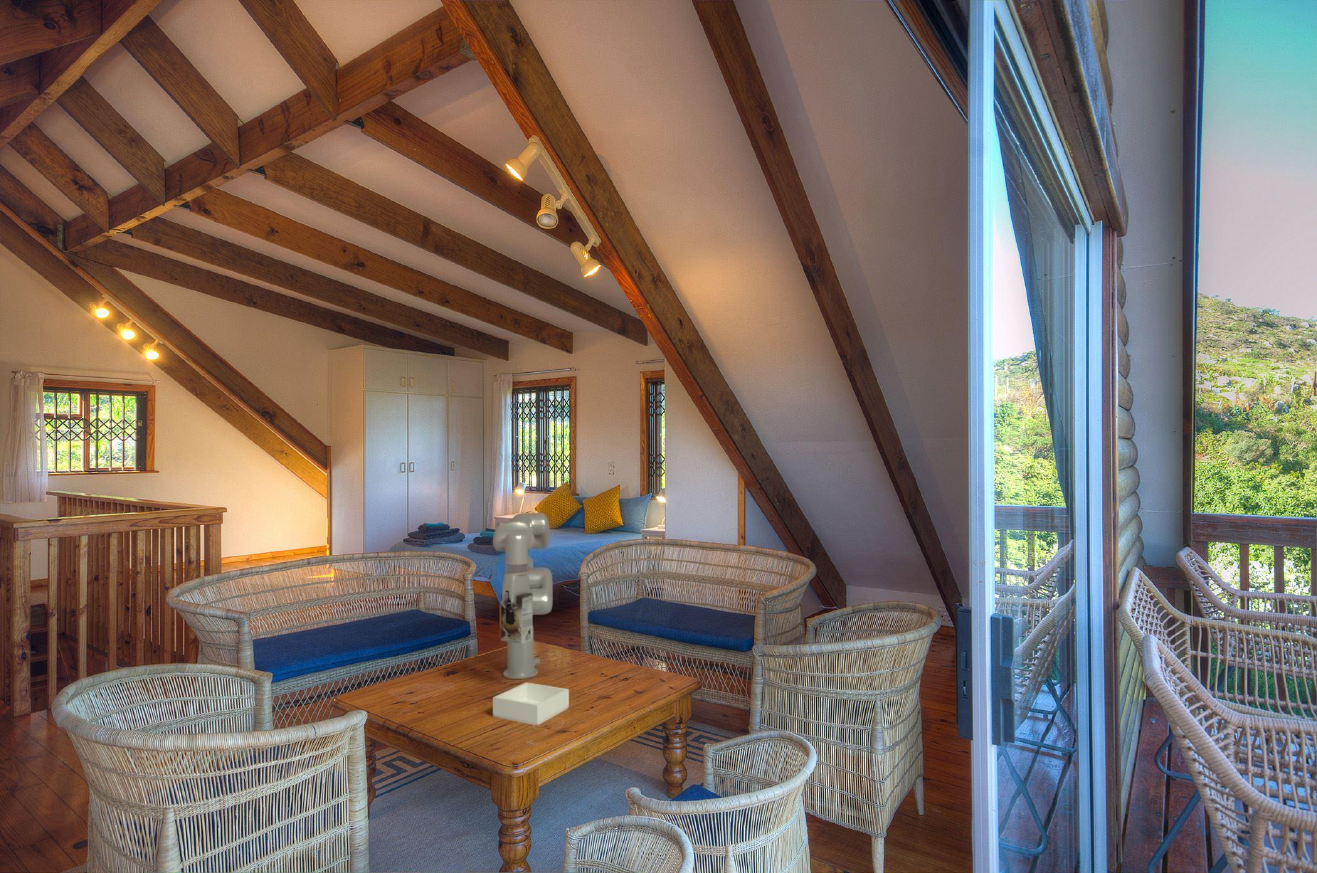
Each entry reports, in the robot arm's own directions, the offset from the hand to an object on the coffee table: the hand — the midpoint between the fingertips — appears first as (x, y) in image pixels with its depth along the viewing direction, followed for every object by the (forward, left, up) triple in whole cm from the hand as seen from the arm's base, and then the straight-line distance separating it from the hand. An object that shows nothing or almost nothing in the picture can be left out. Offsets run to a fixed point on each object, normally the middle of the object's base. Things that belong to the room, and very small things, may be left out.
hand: (516, 620), depth 253 cm
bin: (+12, +15, -25) cm, 32 cm away
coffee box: (0, 0, -7) cm, 7 cm away
